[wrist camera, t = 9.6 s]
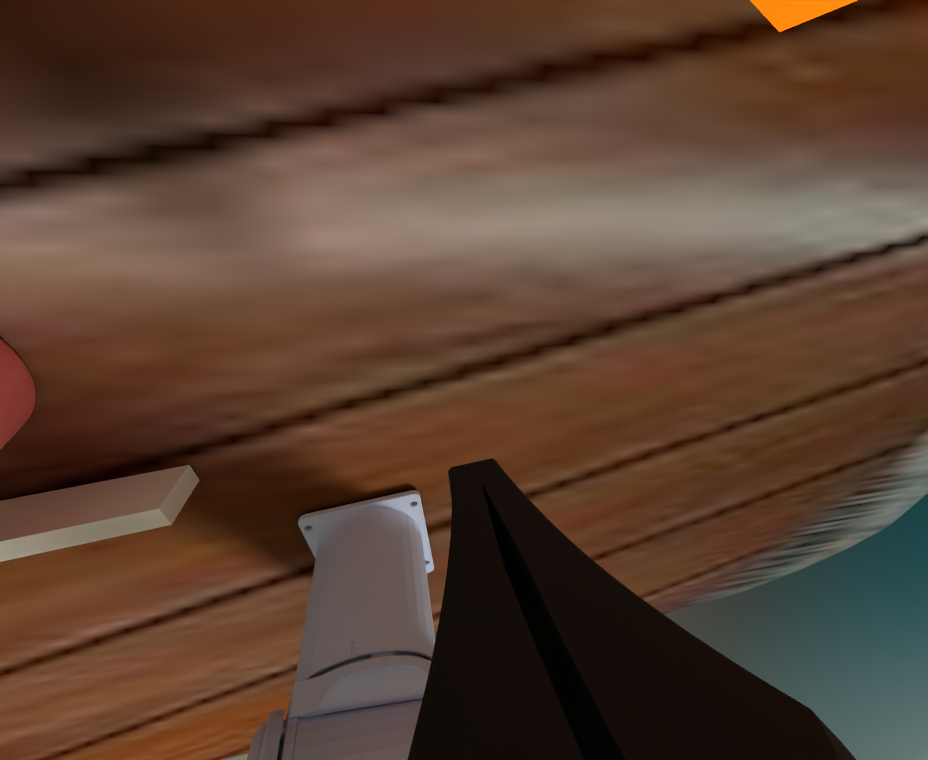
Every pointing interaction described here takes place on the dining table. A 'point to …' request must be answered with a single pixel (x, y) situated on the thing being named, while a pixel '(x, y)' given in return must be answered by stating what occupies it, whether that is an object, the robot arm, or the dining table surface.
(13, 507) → the bay
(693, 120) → the dining table surface
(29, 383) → the flower pot
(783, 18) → the orange juice
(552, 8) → the dining table surface
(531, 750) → the robot arm
